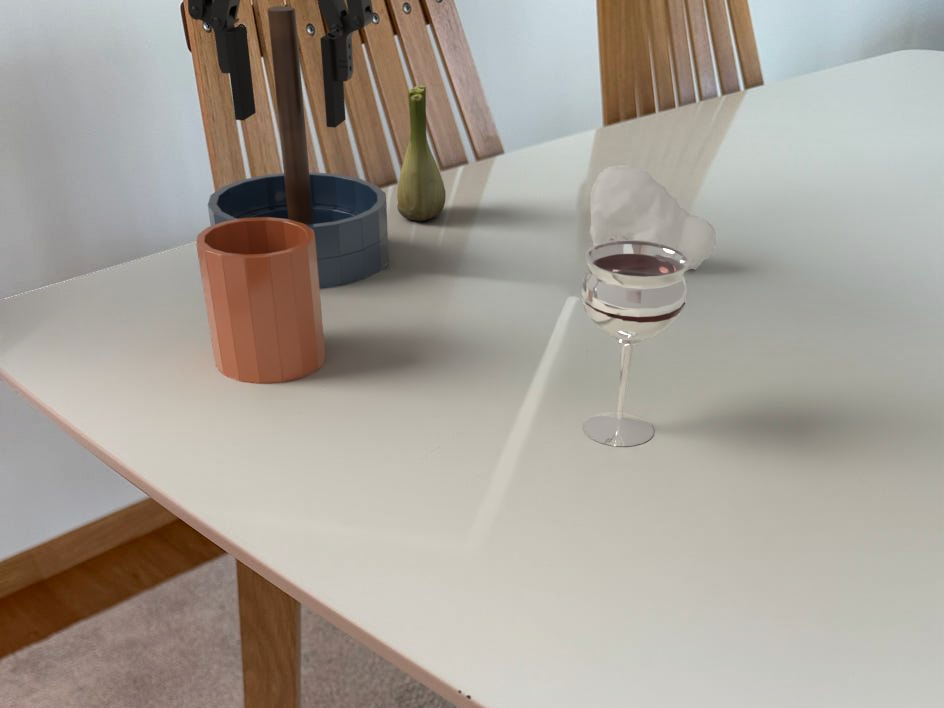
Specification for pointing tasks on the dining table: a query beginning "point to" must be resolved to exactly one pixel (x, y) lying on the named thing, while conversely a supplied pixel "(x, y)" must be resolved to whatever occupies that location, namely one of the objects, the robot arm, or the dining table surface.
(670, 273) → the wineglass
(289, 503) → the dining table surface
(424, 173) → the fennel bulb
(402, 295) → the dining table surface
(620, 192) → the lumpy white blob
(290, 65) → the stirring stick
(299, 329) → the pot
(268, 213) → the bowl
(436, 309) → the dining table surface
